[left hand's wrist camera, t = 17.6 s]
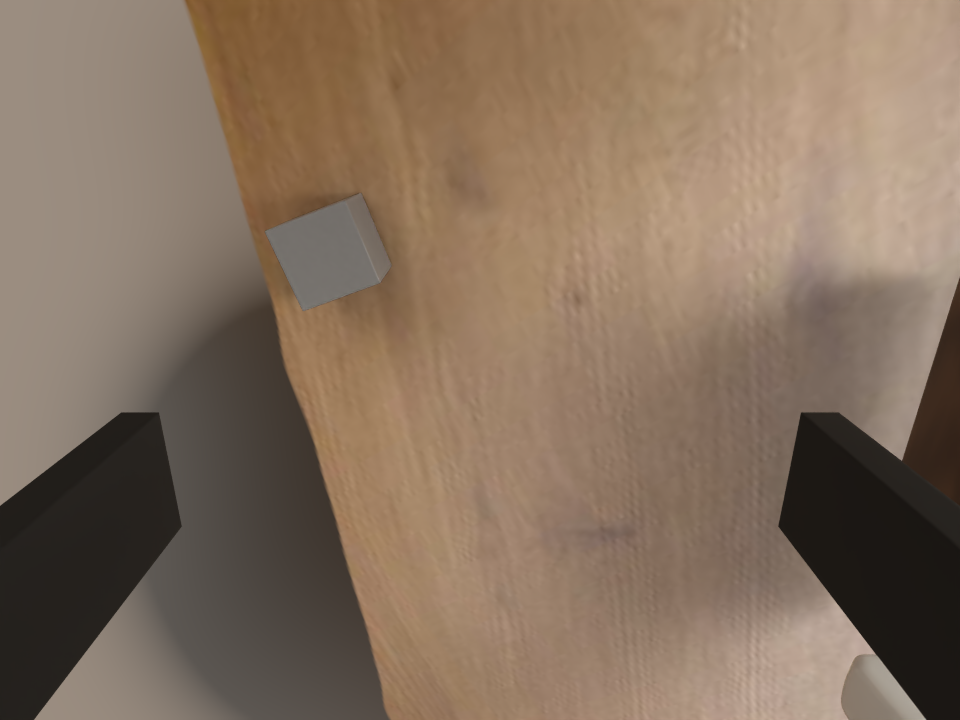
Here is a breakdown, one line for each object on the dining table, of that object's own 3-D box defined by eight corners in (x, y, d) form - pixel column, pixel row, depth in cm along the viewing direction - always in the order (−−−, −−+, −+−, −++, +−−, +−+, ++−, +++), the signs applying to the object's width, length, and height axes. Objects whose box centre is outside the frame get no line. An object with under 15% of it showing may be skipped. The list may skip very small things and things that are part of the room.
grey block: (289, 219, 39) (264, 231, 34) (361, 192, 39) (344, 200, 34) (323, 291, 41) (302, 311, 36) (392, 265, 40) (380, 283, 35)
